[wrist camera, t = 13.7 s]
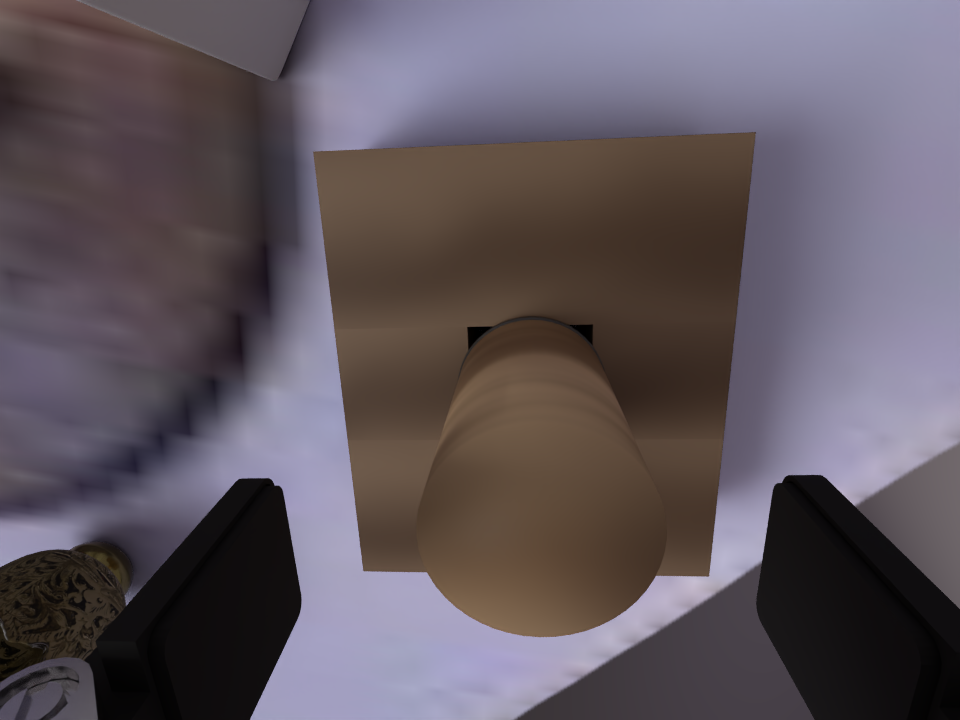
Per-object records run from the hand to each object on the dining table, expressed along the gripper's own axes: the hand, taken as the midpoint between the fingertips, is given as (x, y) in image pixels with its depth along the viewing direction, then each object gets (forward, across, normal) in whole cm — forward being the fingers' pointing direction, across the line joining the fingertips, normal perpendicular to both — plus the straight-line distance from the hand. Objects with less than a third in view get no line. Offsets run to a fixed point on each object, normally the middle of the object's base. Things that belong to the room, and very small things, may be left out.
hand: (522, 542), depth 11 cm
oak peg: (+14, -1, +1) cm, 14 cm away
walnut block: (+15, 0, +1) cm, 15 cm away
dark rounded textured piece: (+15, +22, +13) cm, 30 cm away
